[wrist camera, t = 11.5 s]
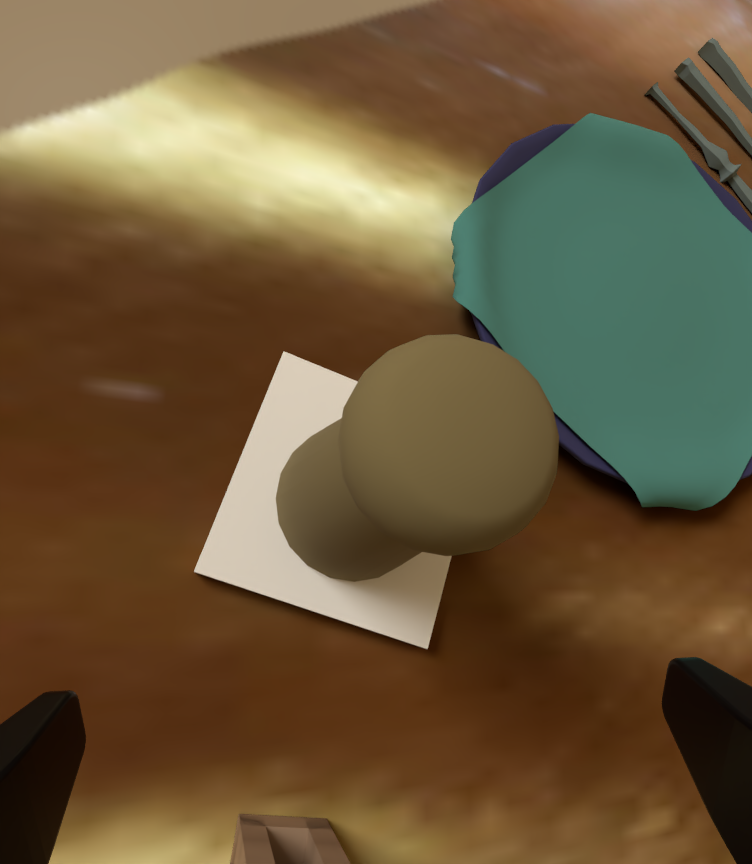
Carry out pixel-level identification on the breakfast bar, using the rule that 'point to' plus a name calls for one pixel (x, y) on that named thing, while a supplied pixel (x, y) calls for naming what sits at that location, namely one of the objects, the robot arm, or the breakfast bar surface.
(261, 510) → the plate
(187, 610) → the breakfast bar surface
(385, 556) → the cork
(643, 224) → the cutlery set
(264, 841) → the napkin holder
